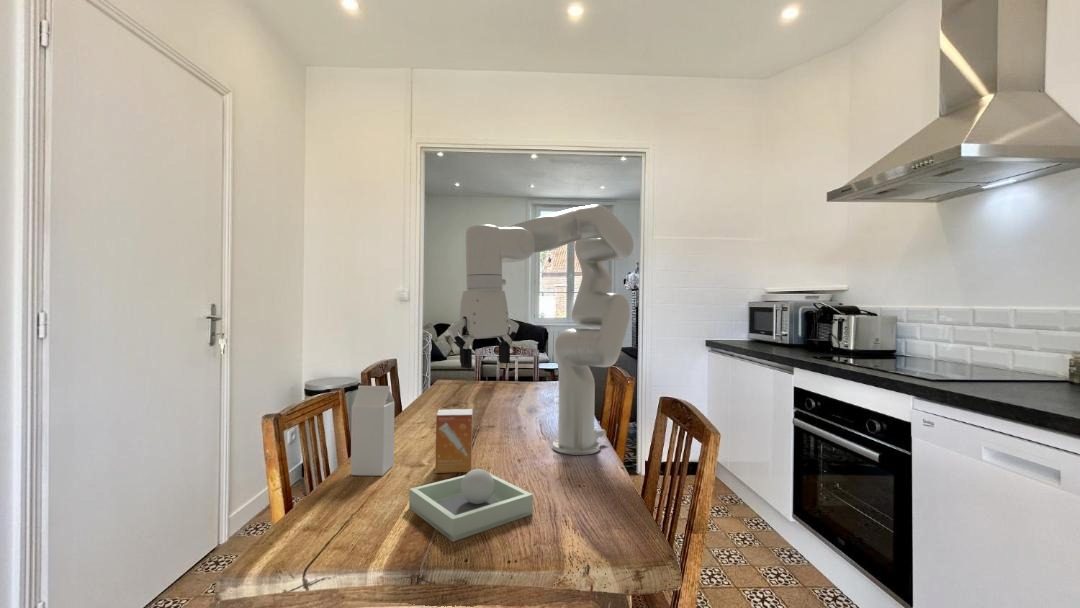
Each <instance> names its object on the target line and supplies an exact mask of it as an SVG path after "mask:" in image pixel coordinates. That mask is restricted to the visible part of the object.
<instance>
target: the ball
mask: <svg viewBox="0 0 1080 608" xmlns="http://www.w3.org/2000/svg"><path fill="white" fill-rule="evenodd" d="M489 473H490V472H489V471H487V470H485V469H482V468H474V469H471V471H470V472H466V474H464V475H465V476H464V478H463V480H462V483H461V492H462V495H463V497H464V498H465V499H466V500H467V501H468V502H470V503H472V504H481V503H484V502H486V501H487V500H488V499H489V498H490V497H491V495H492V493H493V491H494V481H493V478H492V476H491V475H490V474H491V473H490V474H489Z"/></svg>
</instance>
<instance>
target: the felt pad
mask: <svg viewBox="0 0 1080 608" xmlns="http://www.w3.org/2000/svg"><path fill="white" fill-rule="evenodd" d="M497 502H499V501H498V500H496V499H494V498H492V497H490V498H489V499H488V500H487V501H486V502H484V503H481V504H472V503H470V502H468V501H467V500H466V499H465V498H464V497H463V495H460V496H456V497H452V498H449V499H445V500H442V501H438V502H436V503H438V504H439V505H441V506H442V507H444V508H445V509H447V510H448V511H450V512H451V513H452V514H454V515H458V514H462V513H465V512H468V511H471V510H475V509H478V508H481V507H484V506H488V505H491V504H494V503H497Z"/></svg>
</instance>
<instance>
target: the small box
mask: <svg viewBox="0 0 1080 608" xmlns="http://www.w3.org/2000/svg"><path fill="white" fill-rule="evenodd" d="M473 413H474V412H473V408H467V409H466V408H465V409H464V408H453V409H438V411H437V413H436V416H435V417H436V421H435V462H434V464H435V467H434V468H435V469H434V471H435V474H439V473H443V474H444V473H445V474H446V473H468V472H470V471H471V470H472V461H473V458H472V457H473V418H474V417H473Z"/></svg>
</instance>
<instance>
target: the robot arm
mask: <svg viewBox="0 0 1080 608" xmlns="http://www.w3.org/2000/svg"><path fill="white" fill-rule="evenodd" d="M574 242H575V244H574V251H575V255H576V257H577V260H578V263H579V266H580V269H581V274H582V276H581V281H580V285H579V288H578V292H577V295H576V297H575V301H574V303H573V306H572V311H571V320H572V322H573V323H574V324H575V325H576V326H579V327H581V328H579V327H578V328H577V327H575V328H567V329H564V330H562V331H561V332H559V334H558V335H557V337H556V338H555V344H554V351H555V356H556V361H557V369H558V418H557V419H558V420H557V421H558V428H557V429H558V430H557V431H558V433H557V434H558V435H557V436H558V439H556V440H554V441H553V442H552V445H551V447H552V449H553V450H554V451H555V452H558V453H559V454H560V453H561V454H564V455H573V456H585V455H591V454H595V453H597V452H599V451H600V450H601V444H600V443H599V442H598V439H599V438H603V437H606V436H607V432H606V430H605V429H603V428H602V429H598V430H597V429H595V403H596V400H595V398H596V397H595V392H596V391H595V389H596V388H595V387H596V383H595V378H594V375H593V372H592V370H591V369H590V367H599V368H609V367H612V366H614V365H615V364H616V362H617V361H618V359H619V357H620V354H621V352H622V347H623V344H624V341H625V337H626V334H627V330H628V328H629V326H628V325H629V322H630V318H631V317H630V316H631V308H630V303H629V300H628V299H627V297H626V296H625V295H624V294H621V293H619V292H618V293H617V292H611V289H612V284H613V283H612V282H613V281H612V277H611V274H610V273H609V271H608V269H607V268H606V266H605V265H604V263H603V262H607V261H620V260H624V259H628V258H629V257H630V256H631V255H632V252H633V250H634V238H633V236H632V235H631V232H630V231H629V229H628V228H627V227H626V226H625V225H624V224H623V223H622V222H621V221H620V219H619V218H618V217H617V216H616V215H615V214H614V213H613V212H612V211H611V210H610V209H608V208H607V207H606V206H604V205H603V204H602V205H601V204H600V203H597V204H590V205H585V206H584V205H583V206H578V207H572V208H568V209H564V210H560V211H557V212H553V213H550V214H546V215H541V216H539V217H535V218H530V219H527V220H525V221H521V222H518V223H515V224H514V223H513V224H509V225H507V226H503V227H500V226H497V225H494V224H475V225H471V226H470V225H469V226H468V227H467V228H466V231H465V265H466V267H465V270H466V271H465V273H466V274H465V275H466V290H464V291H462V295H461V301H460V307H459V318H458V319H459V320H458V321H457V322H455V323H453V324H452V325H451V326H449V327H447V331H448V334H449V336H450V338H451V341H452V342H453V343H454V344H455V345H456V347H457V348H458V349H459V363H460V366H461V368H464V369H472V368H473V354H472V353H473V352H472V348H470V347H471V345H472V343H473V342H474V340H475V339H476V340H480V339H493V338H497V340H498V341H499V344H498V362H499V363H501V364H510V363H511V360H510V358H511V345H512V344H513V341H514V339H515V338H516V337H517V333H518V330H519V327H520V324H519V323H518V322H516V321H514V320H513V319H511V318H510V317H509V310H508V309H509V307H508V301H507V297H506V292H505V290H503V286H505V285H506V284H507V280H506V279H503V263H504V264H506V263H516V262H522V261H526V260H527V259H529V258H531V257H532V255H533V254H534V253H535V254H536V253H543V252H546V251H551V250H552V251H553V250H556V249H558V248H561V247H563V246H565V245H569V244H572V243H574Z"/></svg>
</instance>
